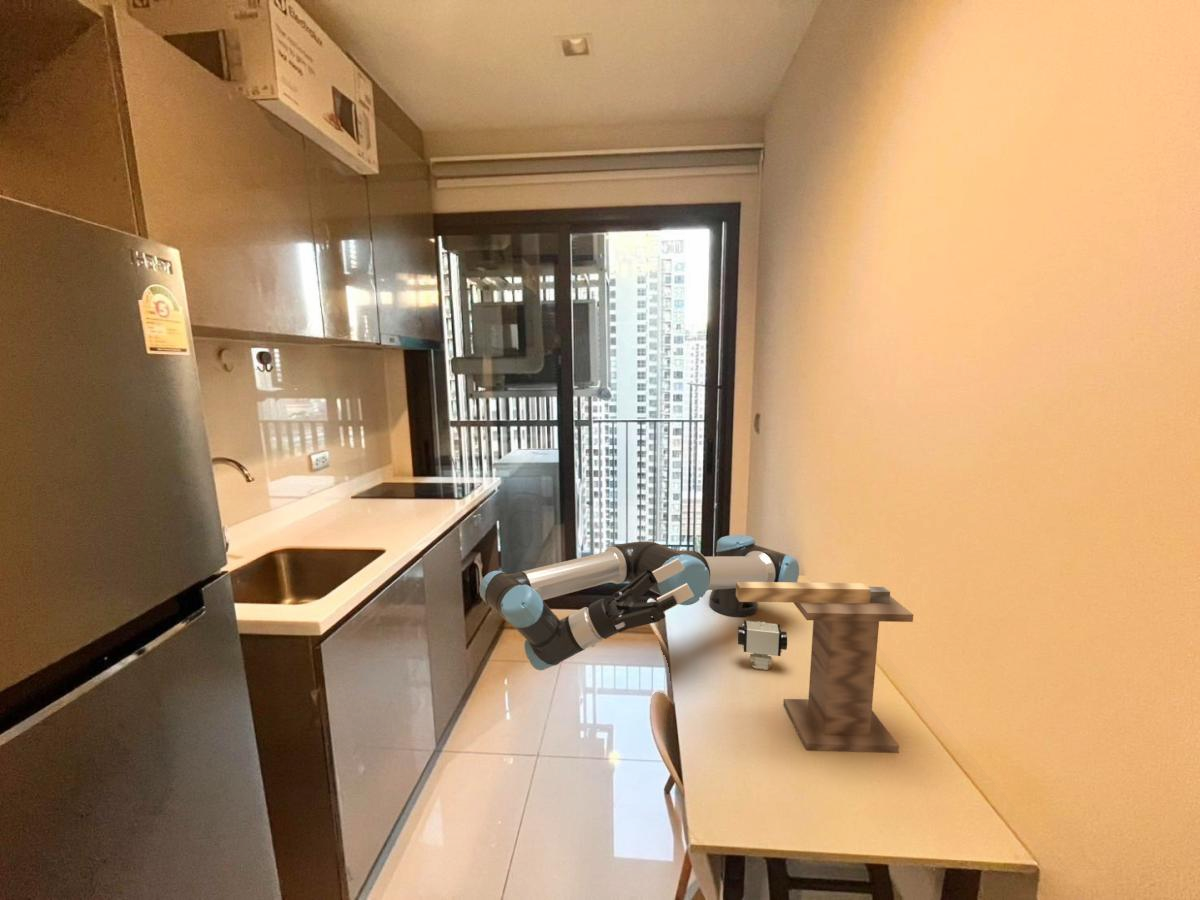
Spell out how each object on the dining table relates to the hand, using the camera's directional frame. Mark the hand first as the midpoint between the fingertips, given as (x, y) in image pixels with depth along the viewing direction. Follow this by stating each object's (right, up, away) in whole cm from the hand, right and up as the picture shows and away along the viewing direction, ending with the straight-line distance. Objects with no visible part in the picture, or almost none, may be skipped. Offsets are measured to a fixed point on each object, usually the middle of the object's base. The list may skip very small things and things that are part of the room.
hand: (685, 575), depth 103 cm
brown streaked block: (+26, -5, 0) cm, 26 cm away
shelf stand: (+33, -33, +4) cm, 47 cm away
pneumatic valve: (+24, -30, +27) cm, 47 cm away
